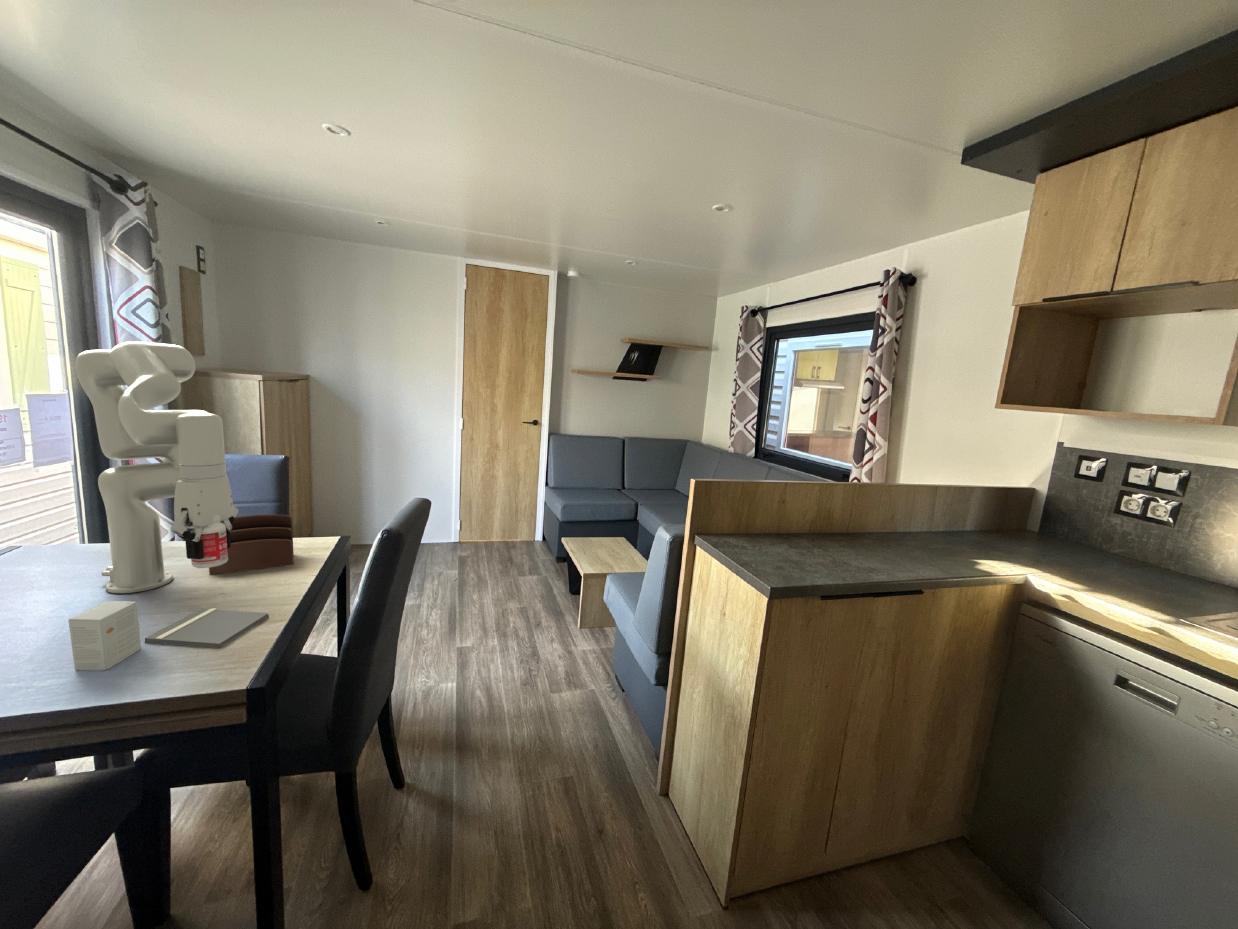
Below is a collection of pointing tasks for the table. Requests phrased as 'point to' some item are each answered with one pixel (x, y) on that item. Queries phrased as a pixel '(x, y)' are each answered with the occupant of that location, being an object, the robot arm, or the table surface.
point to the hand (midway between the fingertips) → (209, 552)
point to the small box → (104, 635)
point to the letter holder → (258, 543)
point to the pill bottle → (212, 545)
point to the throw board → (207, 628)
